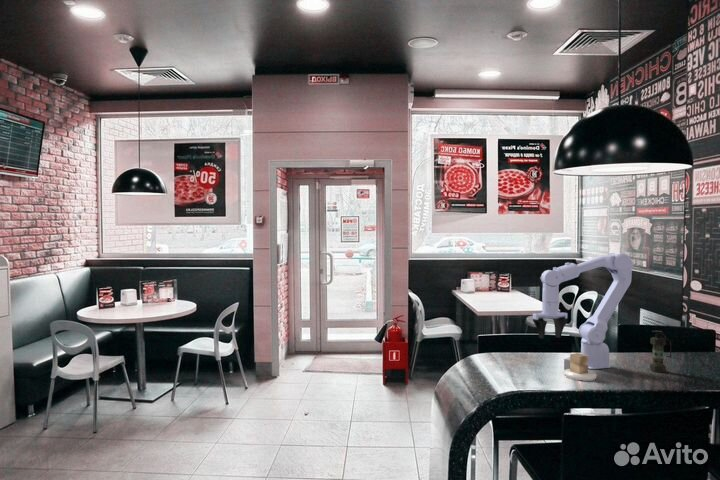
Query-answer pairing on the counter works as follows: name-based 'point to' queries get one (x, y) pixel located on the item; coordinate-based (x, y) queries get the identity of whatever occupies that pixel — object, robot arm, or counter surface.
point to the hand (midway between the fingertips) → (549, 337)
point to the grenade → (658, 351)
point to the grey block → (566, 363)
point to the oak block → (579, 363)
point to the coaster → (580, 375)
